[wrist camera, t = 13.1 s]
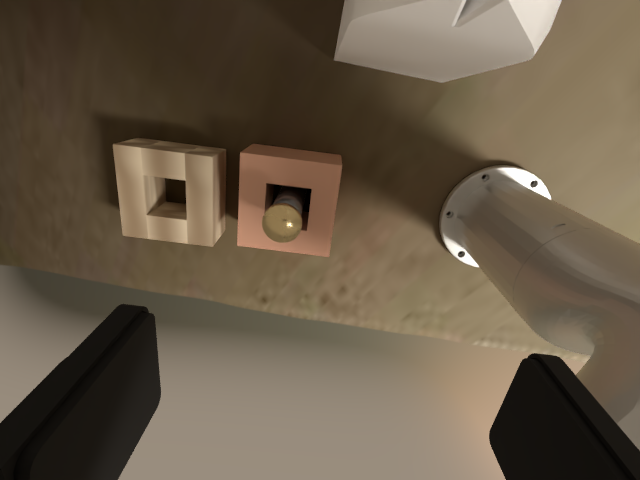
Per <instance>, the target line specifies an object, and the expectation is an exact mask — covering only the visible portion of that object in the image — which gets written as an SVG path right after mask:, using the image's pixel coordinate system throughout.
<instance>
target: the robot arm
mask: <svg viewBox="0 0 640 480" xmlns="http://www.w3.org/2000/svg"><path fill="white" fill-rule="evenodd" d="M483 175H484V177H483V178H482V176H483ZM531 182H532V183H531ZM530 183H531V184H530ZM447 212H449V214H446V213H447ZM439 228H440V234H441V238H442V241H443V242H444V244H445V246H446V248H447V249H448V250H449V251H450V253H451V254H452V255H453V256H454V257H455V258H456V259H458V260H459V261H461V262H463V263H465V264H467V265H470V266H474V267H480V268H481V270H482V271H483V272H484V273H485V274H486V276H487V277H488V278H489V279H490V280H491V282H492V283H493V284H494V285H495V286H496V288H497V289H498V290H499V291H500V292H501V294H502V295H503V296H504V297H505V299H506V300H507V301H508V302H509V303H510V305H511V306H512V307H513V308H514V309H515V311H516V312H517V313H518V314H519V315H520V317H521V318H522V319H523V320H524V321H525V322H526V323H527V325H528V326H529V327H530V328H531V329H532V330H533V331H534V332H535V333H536V334H537V335H539V336H540V337H541V338H543V339H544V340H546V341H547V342H549V343H551V344H553V345H555V346H557V347H559V348H562V349H565V350H568V351H571V352H575V353H579V354H584V355H590V356H591V357H590V359H589V360H588V361H587V363H586V364H585V365H584V366H583V367H582V369H581V370H580V371H579V372H578V373H577V374H576V375H575V374H574V373H573V372H572V371H571V369H570V368H569V367H568V366H567V365H566V364H565V362H564V361H563V360H562V359H561V358H560V357H557V356H553V355H544V354H536V353H534V354H531V355H529V356H528V358H525V359H523V360H522V362H521V363H520V366H519V368H518V370H517V372H516V374H515V377H514V379H513V381H512V383H511V385H510V388H509V390H508V392H507V394H506V396H505V399H504V401H503V403H502V405H501V407H500V410H499V412H498V414H497V416H496V418H495V421H494V423H493V425H492V427H491V429H490V434H489V439H490V444H491V447H492V449H493V451H494V454H495V456H496V458H497V461H498V463H499V465H500V467H501V470H502V472H503V474H504V476H505V479H506V480H640V244H639V243H637V242H635V241H633V240H631V239H629V238H627V237H625V236H623V235H621V234H619V233H617V232H614V231H613V230H611V229H609V228H607V227H605V226H603V225H601V224H599V223H597V222H595V221H593V220H591V219H589V218H587V217H585V216H583V215H581V214H579V213H577V212H575V211H573V210H571V209H569V208H567V207H565V206H563V205H561V204H559V203H557V202H555V201H553V200H551V196H550V193H549V191H548V189H547V187H546V186H545V184H544V183H543V182H542V180H541V179H539V178H538V177H537V176H536V175H534V174H533V173H531V172H529V171H527V170H525V169H522V168H519V167H516V166H508V165H499V166H492V167H487V168H483V169H481V170H479V171H476V172H474V173H472V174H471V175H469V176H468V177H466V178H464V179H463V180H462V181H461V182H460V183H459V184H457V185H456V186H455V187H454V189H453V190H452V191H451V192H450V194H449V195H448V197H447V199H446V200H445V202H444V204H443V207H442V210H441V213H440V220H439ZM460 251H461V252H460ZM160 397H161V387H160V376H159V363H158V351H157V338H156V327H155V316H154V315H153V314H152V313H149V312H148V309H147V308H146V307H144V306H135V305H126V304H121V305H119V306H118V307H117V308H116V309H115V310H114V311H113V312H112V313H111V314H110V315H109V316H108V317H107V318H106V319H105V320H104V321H103V322H102V323H101V324H100V325H99V326H98V327H97V328H96V329H95V330H94V331H93V332H92V333H91V334H90V335H89V336H88V337H87V338H86V339H85V340H84V341H83V342H82V343H81V344H80V345H79V346H78V347H77V348H76V349H75V350H74V351H73V352H72V353H71V354H70V355H69V356H68V357H67V358H65V359H64V360H63V361H62V362H61V363H59V364H58V365H57V366H56V367H55V369H54V370H53V371H52V372H51V373H50V374H49V375H48V376H47V377H46V378H45V379H44V380H43V381H42V382H41V383H40V384H39V385H38V386H37V387H36V388H35V389H34V390H33V391H32V392H31V393H30V394H29V395H28V396H27V397H26V398H25V399H24V400H23V401H22V402H21V403H20V404H19V405H18V406H17V407H16V408H15V409H14V410H13V411H12V412H11V413H10V414H9V415H8V416H7V417H6V418H5V419H4V420H3V421H2V422H1V423H0V480H118V478H119V476H120V474H121V473H122V471H123V469H124V467H125V465H126V464H127V462H128V460H129V458H130V456H131V455H132V452H133V451H134V449H135V447H136V445H137V444H138V442H139V440H140V438H141V436H142V434H143V433H144V431H145V429H146V427H147V425H148V424H149V422H150V420H151V418H152V416H153V414H154V413H155V411H156V409H157V407H158V404H159V401H160Z"/></svg>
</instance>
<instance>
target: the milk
mask: <svg viewBox="0 0 640 480" xmlns="http://www.w3.org/2000/svg"><path fill="white" fill-rule="evenodd" d="M561 1H562V0H345V1H344V6H343V12H342V17H341V23H340V28H339V34H338V40H337V45H336V51H335V56H334V60H335V61H339V62H344V63H349V64H354V65H359V66H364V67H368V68H373V69H378V70H383V71H388V72H393V73H397V74H402V75H407V76H412V77H417V78H422V79H426V80H431V81H436V82H441V83H443V82H447V81H451V80H455V79H459V78H463V77H467V76H470V75H474V74H478V73H482V72H486V71H490V70H494V69H498V68H502V67H505V66H509V65H513V64H517V63H521V62H525V61H528V60H530V59H532V58H533V56H534V55H535V53H536V52H537V50H538V48H539V47H540V45H541V44H542V42H543V40H544V39H545V37H546V36H547V34H548V32H549V31H550V29H551V26H552V24H553V21H554V19H555V16H556V13H557V11H558V8H559V6H560V3H561Z"/></svg>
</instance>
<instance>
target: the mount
mask: <svg viewBox="0 0 640 480" xmlns="http://www.w3.org/2000/svg"><path fill="white" fill-rule="evenodd" d="M113 152H114V160H115V169H116V178H117V187H118V196H119V205H120V214H121V223H122V232H123V236H130V237H138V238H146V239H154V240H162V241H171V242H179V243H187V244H195V245H203V246H211V247H213V246H214V244H215V243H216V242H217V240H218V239H219V238H220V236H221V235H222V234H223V232H224V231H225V206H226V149H222V148H214V147H206V146H198V145H191V144H183V143H175V142H168V141H160V140H152V139H144V138H135V139H131V140H127V141H123V142H119V143H115V144H113ZM165 178H169V179H177V180H185V181H186V204H182V203H174V202H166V187H165Z"/></svg>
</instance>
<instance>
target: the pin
mask: <svg viewBox="0 0 640 480" xmlns="http://www.w3.org/2000/svg"><path fill="white" fill-rule="evenodd" d="M305 198H306V188H301V187H293V186H285V185H283V186H282V188H281V190H280V192H279V194H278V196H277V198H276V200H275V202H274V204H273V205H272V206H270V207H269V208H268V209H267V210H266V212H265V214H264V216H263V219H262V228H263V231H264V233H265V234H266V235H267V236H268V237H269V238H270V239H271V240H273V241H275V242H279V243H286V242H290V241H292V240H294V239H295V238H296V237H297V236H298V235H299V233H300V231H301V227H302V217H301V214H302V210H303V206H304V202H305Z"/></svg>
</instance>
